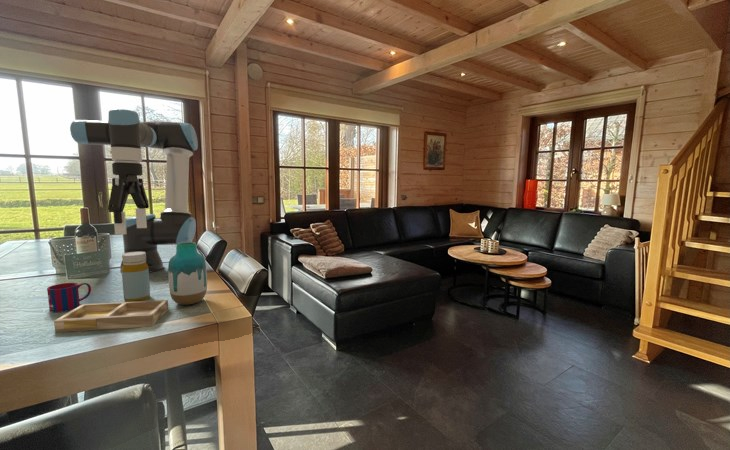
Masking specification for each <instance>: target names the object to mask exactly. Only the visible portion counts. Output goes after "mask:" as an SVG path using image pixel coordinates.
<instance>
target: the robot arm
mask: <svg viewBox="0 0 730 450" xmlns="http://www.w3.org/2000/svg"><path fill="white" fill-rule="evenodd" d="M69 130H70V136H71V138H72V139H73V141H75V142H76V143H77V144H81V145H87V146H89V145H95V146H96V145H99V146H100V145H101V146H102V145H103V146H110V151H109V153H110V154H111V160H112V164H111V169H112V175H113V176H118V177H112V178H111V191H110V194H109V195H110V197H109V200H108V201H109V202H108V206H107V210H108V213H113V224H114V227H113V228H114V235H122V240H123V241H122V242H123V254H124V253H129V252H145V253H146V263H147V265H148V270H149V273H153V272H157V271H159V270H161V269H163V268H164V262H163V260H162V257H161V255H160V253H159V251H158V246H172V245H175V246H176V245H177V244H178V243H182V242H193V240H194V238H195V234H196V231H197V224H196V223H197V221H196V218H195V217H192V213H191V212H190V211H189V209H188V205H189V177H190V176H189V175H190V174H189V172H190V169H189V168H190V158H191V157H192V156H194V151H197V150H198V147H199V145H198V144H199V143H198V136H197V133H196V130H195V127H194V126H193V125H192V124H191V123H188V122H181V121H177V122H174V121H158V120H157V121H155V120H154V121H152V120H151V121H150V120H149V121H142V122H141V119H140V115H139V114H138V112H137V111H134V110H132V109H131V110H130V109H124V108H112V109H109V111H108V120H107V121H105V120H88V119H75V120H73V121H71V123H70V127H69ZM142 148H150V149H151V148H152V149H160V150H162V152H163V153H164V154H165V155H166V166H165V167H166V171H165V172H166V173H165V197H164V209H163V210H161V212H160V217H157V216H156V215H155V214H154V213H153V214H151V213H150V214H147V212H146V211H147V210H146V209H149V208H150V203H149V201H148V197H147V193H146V190H145V187H144V179H143V178H138V177H139V176H140V177H141V176H142V175H143V164H142V162H143V157H142V155H143V154H142ZM113 161H114V162H113ZM129 195H130V197H131V198H132V201H133V202H134V204H135V206H136V208H135V216H129V217H128V216H127V217H126V211H124V209H125V208H126V207H125V206H126V203H127V200H128V197H129ZM122 267H123V260H121V263H120V267H119V271H120V273H121V274H122Z"/></svg>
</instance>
